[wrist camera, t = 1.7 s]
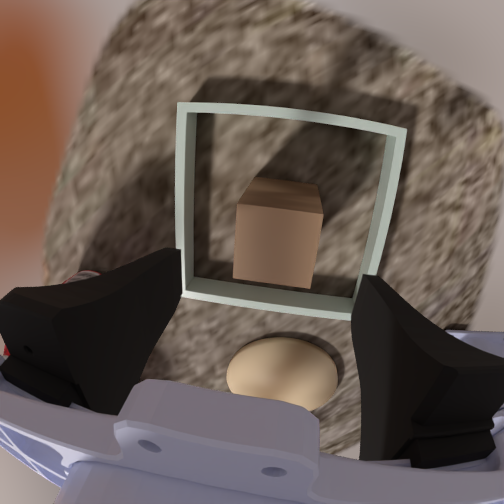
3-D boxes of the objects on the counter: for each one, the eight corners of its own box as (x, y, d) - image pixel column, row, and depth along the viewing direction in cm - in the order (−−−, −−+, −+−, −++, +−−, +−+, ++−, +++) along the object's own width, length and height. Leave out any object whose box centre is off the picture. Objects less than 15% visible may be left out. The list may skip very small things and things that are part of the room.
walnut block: (317, 184, 20) (323, 214, 14) (308, 241, 21) (310, 288, 16) (254, 176, 20) (237, 203, 15) (249, 233, 22) (232, 278, 16)
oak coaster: (350, 344, 25) (351, 350, 24) (323, 413, 29) (323, 419, 28) (230, 328, 25) (228, 335, 25) (227, 401, 30) (225, 406, 29)
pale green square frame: (396, 126, 17) (407, 129, 15) (357, 305, 23) (361, 321, 21) (188, 102, 18) (177, 102, 17) (186, 282, 24) (177, 296, 22)
